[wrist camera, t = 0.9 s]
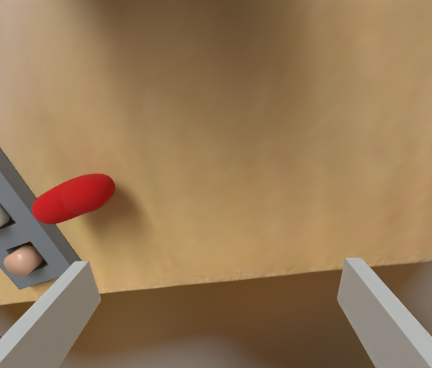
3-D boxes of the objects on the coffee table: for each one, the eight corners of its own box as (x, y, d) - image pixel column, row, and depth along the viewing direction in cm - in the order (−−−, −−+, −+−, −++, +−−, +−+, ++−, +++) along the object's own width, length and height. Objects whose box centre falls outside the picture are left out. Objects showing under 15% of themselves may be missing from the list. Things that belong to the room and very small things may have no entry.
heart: (81, 206, 39) (36, 237, 30) (64, 180, 38) (11, 204, 28) (136, 186, 37) (106, 212, 28) (121, 157, 36) (84, 175, 26)
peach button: (13, 249, 41) (-2, 259, 38) (33, 242, 40) (18, 252, 38) (29, 267, 43) (15, 279, 40) (48, 261, 42) (35, 272, 39)
